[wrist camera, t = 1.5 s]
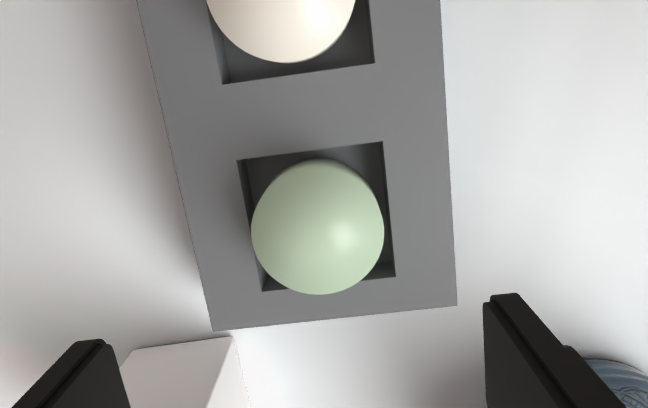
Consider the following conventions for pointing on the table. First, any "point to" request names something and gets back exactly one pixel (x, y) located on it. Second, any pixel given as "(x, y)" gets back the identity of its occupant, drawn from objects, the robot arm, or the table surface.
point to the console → (309, 151)
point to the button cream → (282, 26)
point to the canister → (623, 381)
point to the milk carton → (186, 376)
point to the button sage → (318, 227)
